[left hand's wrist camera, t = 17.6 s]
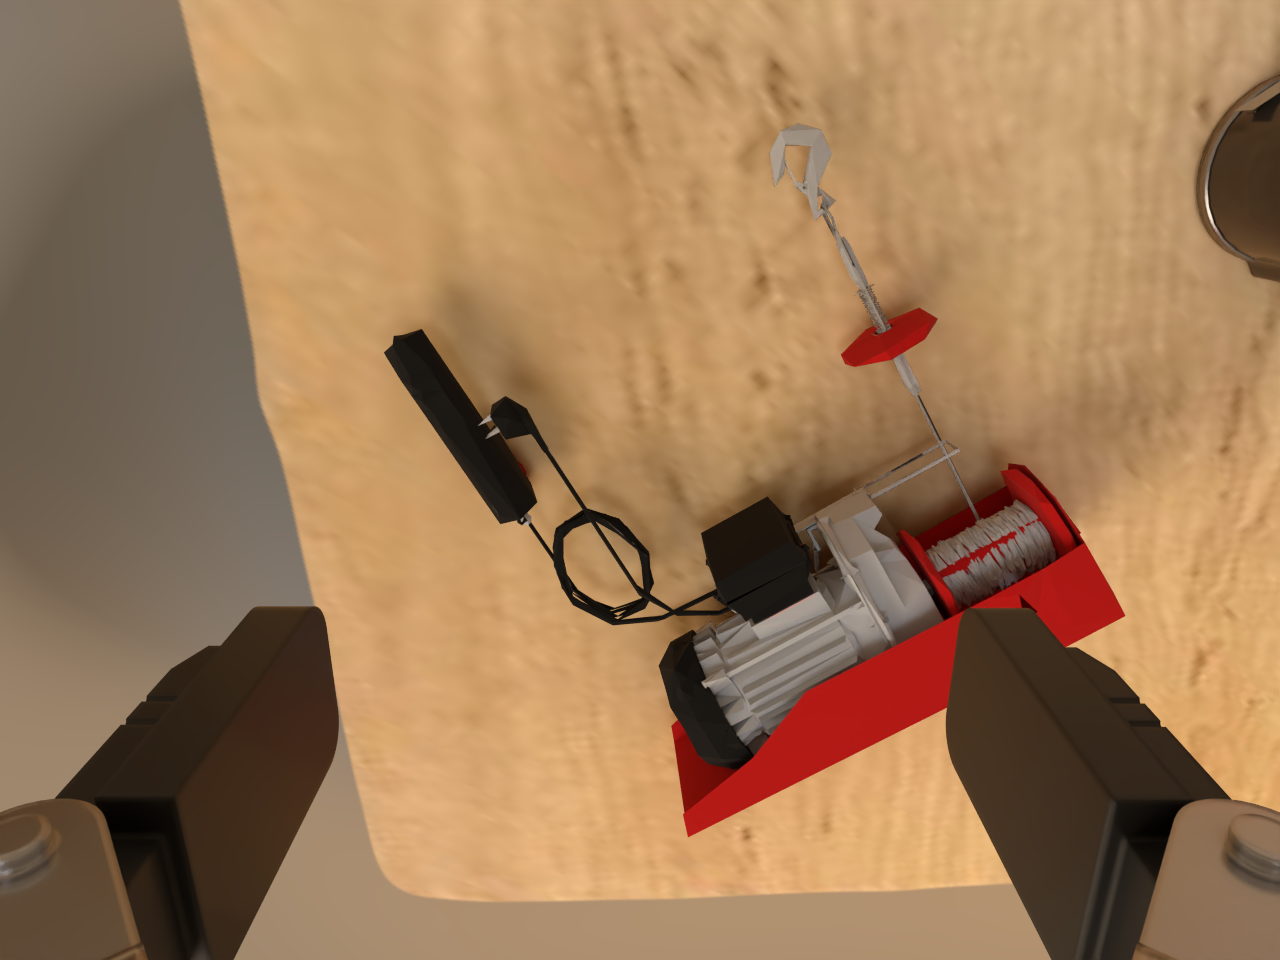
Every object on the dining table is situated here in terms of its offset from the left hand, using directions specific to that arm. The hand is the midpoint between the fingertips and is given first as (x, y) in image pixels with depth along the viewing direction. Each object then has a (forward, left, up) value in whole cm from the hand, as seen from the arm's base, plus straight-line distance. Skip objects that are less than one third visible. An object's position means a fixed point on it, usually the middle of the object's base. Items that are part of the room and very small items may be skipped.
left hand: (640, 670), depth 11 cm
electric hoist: (-11, 0, -39) cm, 40 cm away
